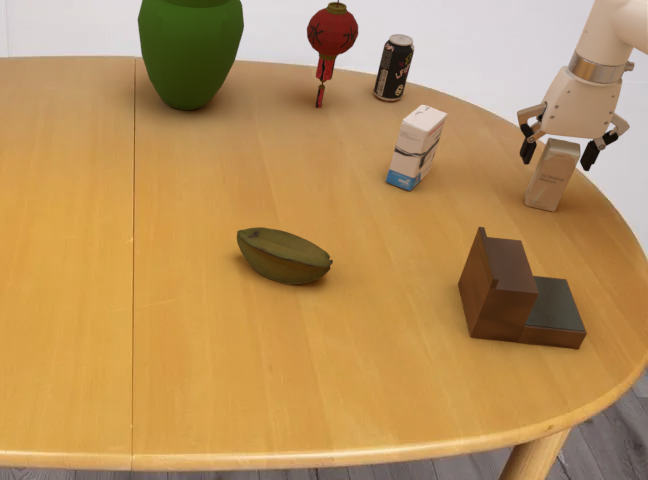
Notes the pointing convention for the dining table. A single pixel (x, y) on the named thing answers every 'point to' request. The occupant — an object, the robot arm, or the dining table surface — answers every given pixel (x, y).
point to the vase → (189, 47)
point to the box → (552, 174)
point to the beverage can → (394, 67)
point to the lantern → (330, 39)
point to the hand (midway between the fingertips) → (554, 163)
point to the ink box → (416, 147)
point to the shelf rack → (516, 297)
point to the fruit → (283, 255)
